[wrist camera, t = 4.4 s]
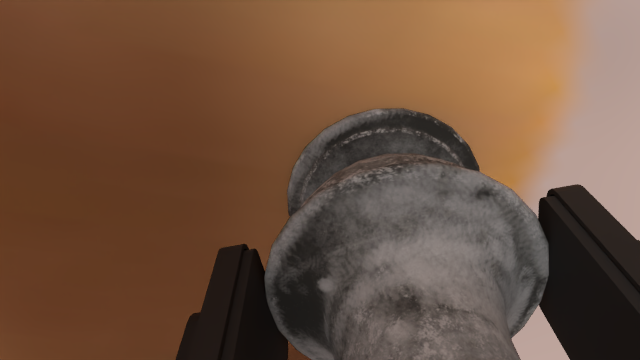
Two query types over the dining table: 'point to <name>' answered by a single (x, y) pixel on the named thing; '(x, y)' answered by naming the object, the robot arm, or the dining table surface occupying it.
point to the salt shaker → (402, 247)
